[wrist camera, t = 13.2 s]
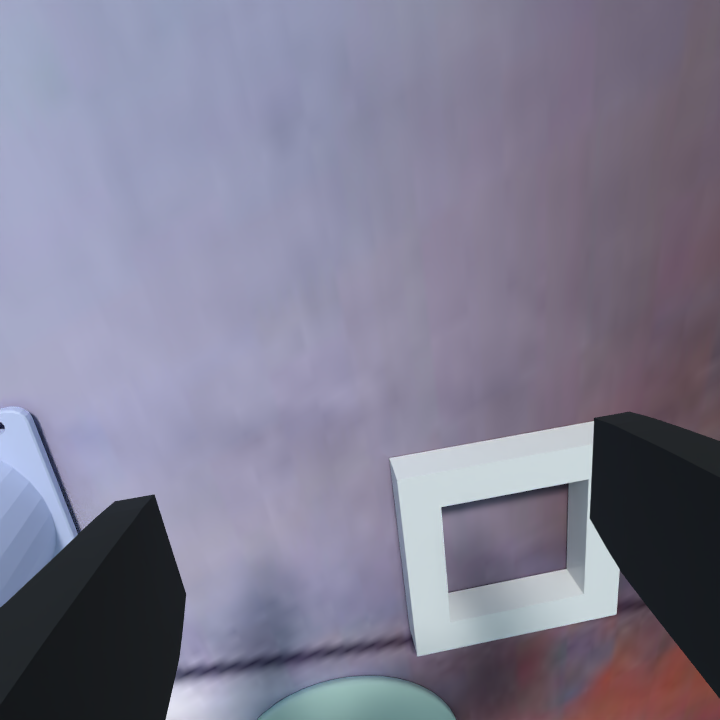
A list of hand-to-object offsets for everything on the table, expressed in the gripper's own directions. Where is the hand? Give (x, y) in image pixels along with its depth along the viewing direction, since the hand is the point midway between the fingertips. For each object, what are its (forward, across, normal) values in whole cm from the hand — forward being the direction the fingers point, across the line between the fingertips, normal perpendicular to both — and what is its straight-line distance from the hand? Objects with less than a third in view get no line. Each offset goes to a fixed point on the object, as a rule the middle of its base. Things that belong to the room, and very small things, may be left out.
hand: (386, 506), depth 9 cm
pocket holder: (+10, -6, +10) cm, 16 cm away
